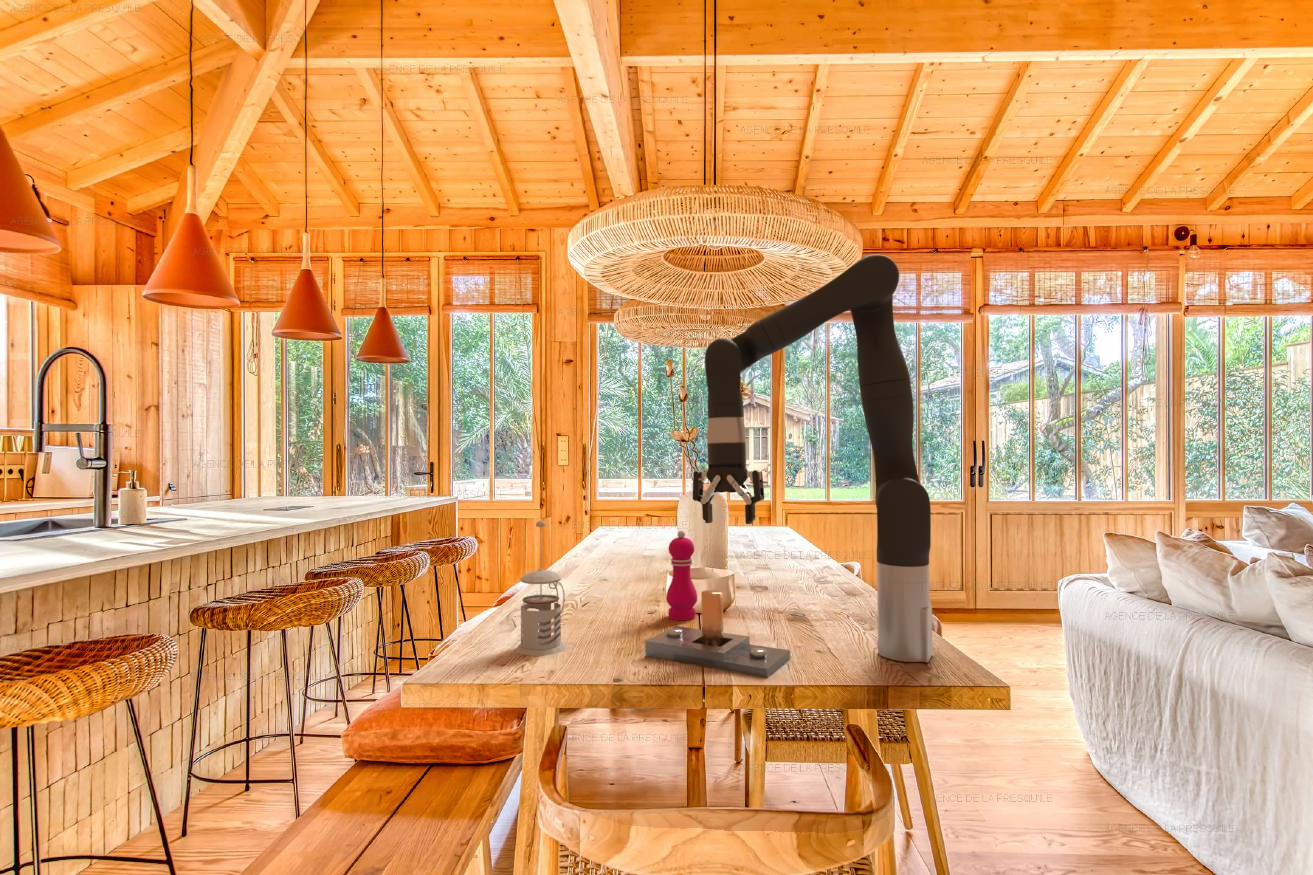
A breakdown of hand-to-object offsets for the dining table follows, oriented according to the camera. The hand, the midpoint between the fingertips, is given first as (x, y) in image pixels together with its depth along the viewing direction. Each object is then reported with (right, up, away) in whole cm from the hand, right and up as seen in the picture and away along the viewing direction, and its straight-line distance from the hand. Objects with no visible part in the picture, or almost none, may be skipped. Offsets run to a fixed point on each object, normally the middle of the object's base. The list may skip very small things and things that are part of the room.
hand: (728, 523), depth 130 cm
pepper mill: (-8, -25, +23) cm, 35 cm away
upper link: (-6, -24, -6) cm, 25 cm away
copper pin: (-4, -24, -7) cm, 25 cm away
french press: (-37, -25, 0) cm, 44 cm away
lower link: (0, -24, -9) cm, 26 cm away
